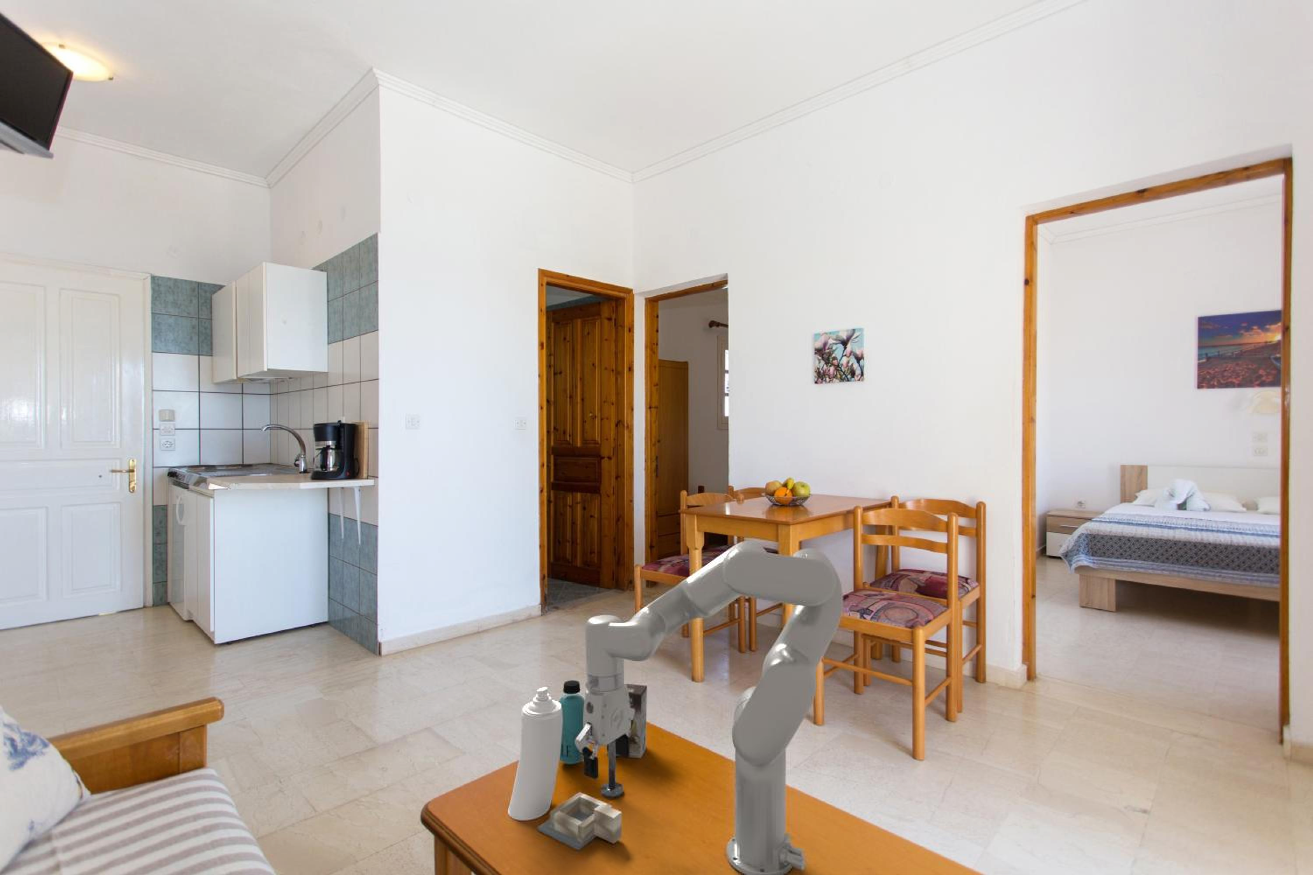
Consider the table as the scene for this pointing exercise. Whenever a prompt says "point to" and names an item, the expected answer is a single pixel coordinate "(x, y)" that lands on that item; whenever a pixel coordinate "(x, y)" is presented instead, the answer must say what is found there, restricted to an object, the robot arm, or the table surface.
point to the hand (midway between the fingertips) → (607, 765)
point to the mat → (563, 837)
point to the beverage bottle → (571, 722)
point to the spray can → (537, 757)
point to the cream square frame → (599, 823)
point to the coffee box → (637, 720)
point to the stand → (612, 777)
